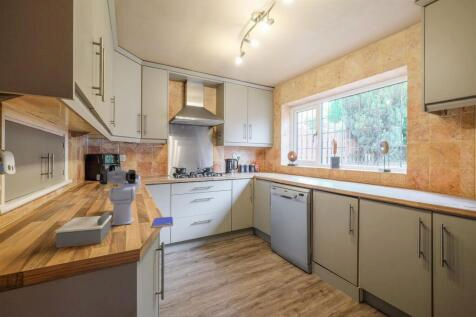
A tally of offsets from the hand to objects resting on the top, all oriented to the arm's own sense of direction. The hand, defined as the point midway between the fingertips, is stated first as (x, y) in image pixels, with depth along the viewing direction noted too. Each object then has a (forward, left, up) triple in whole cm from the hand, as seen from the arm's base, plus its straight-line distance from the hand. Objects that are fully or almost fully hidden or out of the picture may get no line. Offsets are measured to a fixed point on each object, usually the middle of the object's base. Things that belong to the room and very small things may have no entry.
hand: (114, 176), depth 77 cm
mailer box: (-3, -9, -22) cm, 24 cm away
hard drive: (-13, +17, -23) cm, 31 cm away
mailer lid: (-3, -9, -17) cm, 19 cm away
